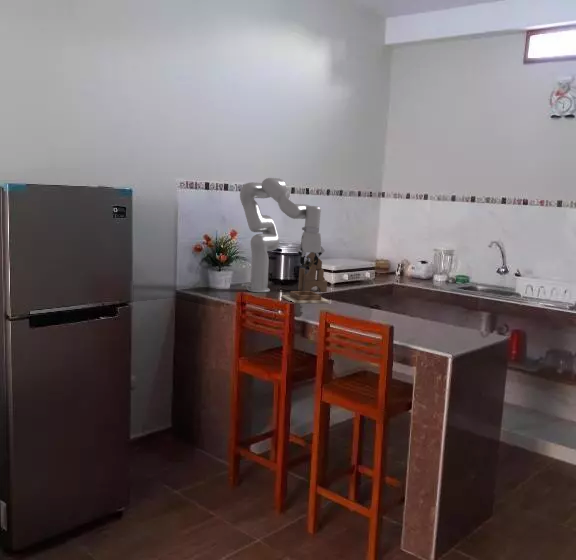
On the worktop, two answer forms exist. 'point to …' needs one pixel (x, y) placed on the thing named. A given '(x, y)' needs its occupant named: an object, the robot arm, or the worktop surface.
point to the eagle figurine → (307, 263)
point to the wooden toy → (312, 277)
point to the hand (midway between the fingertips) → (308, 264)
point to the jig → (305, 297)
